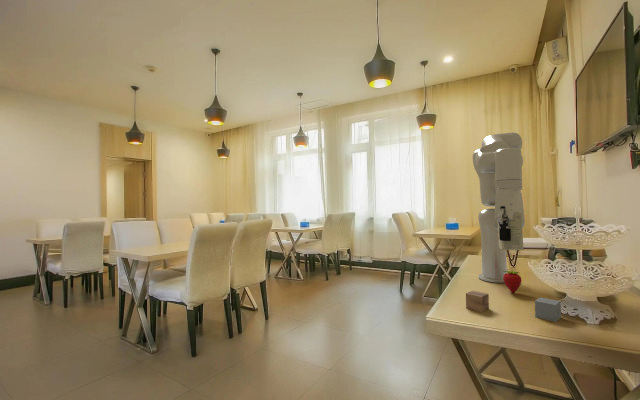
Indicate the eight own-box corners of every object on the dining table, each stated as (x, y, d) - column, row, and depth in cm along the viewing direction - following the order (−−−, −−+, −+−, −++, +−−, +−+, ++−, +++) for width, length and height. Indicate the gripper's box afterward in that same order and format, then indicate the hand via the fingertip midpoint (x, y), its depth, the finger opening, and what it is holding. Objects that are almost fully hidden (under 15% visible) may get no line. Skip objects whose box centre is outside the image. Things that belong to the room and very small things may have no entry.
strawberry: (503, 294, 112) (502, 268, 112) (503, 289, 118) (502, 264, 118) (522, 297, 109) (521, 269, 109) (521, 291, 115) (520, 265, 115)
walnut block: (473, 305, 102) (473, 290, 102) (488, 309, 98) (488, 293, 98) (466, 308, 99) (465, 293, 99) (481, 312, 95) (481, 296, 95)
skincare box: (518, 248, 100) (517, 212, 100) (523, 250, 96) (522, 212, 96) (497, 248, 102) (496, 212, 102) (501, 250, 97) (500, 212, 97)
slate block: (541, 313, 93) (540, 297, 93) (560, 318, 89) (560, 301, 89) (535, 317, 90) (534, 300, 90) (555, 322, 86) (555, 305, 86)
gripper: (506, 186, 107) (508, 236, 107) (484, 186, 96) (486, 241, 96) (531, 185, 101) (532, 238, 101) (510, 184, 91) (512, 243, 90)
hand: (510, 239), depth 99 cm, fingers closed on skincare box, 6 cm apart
